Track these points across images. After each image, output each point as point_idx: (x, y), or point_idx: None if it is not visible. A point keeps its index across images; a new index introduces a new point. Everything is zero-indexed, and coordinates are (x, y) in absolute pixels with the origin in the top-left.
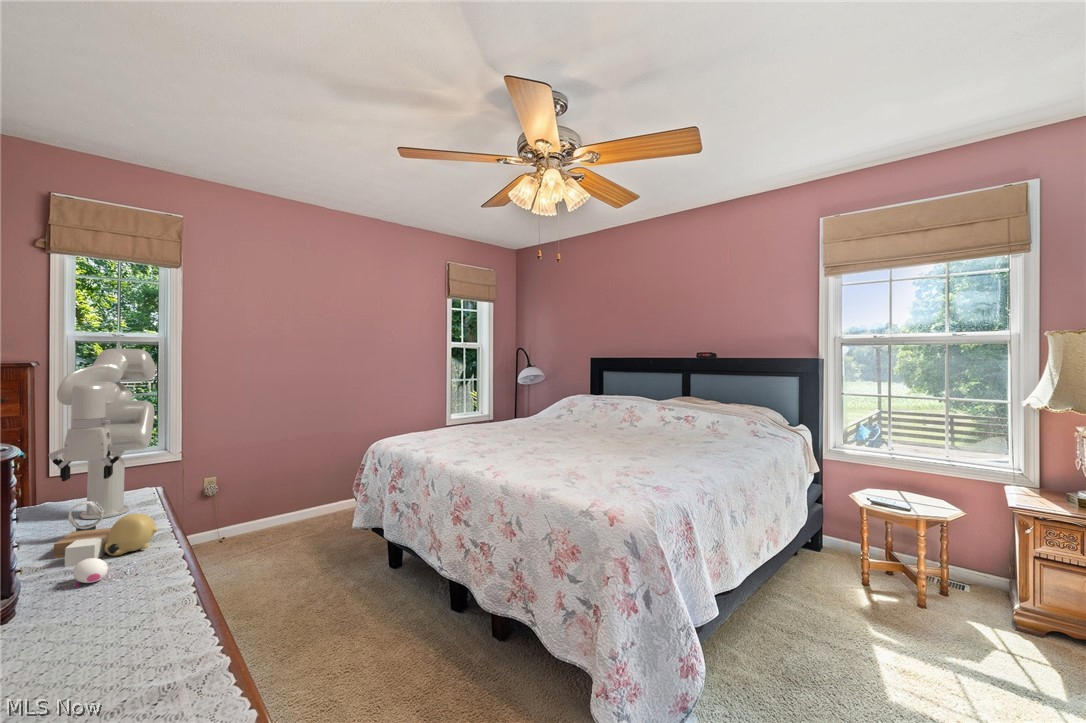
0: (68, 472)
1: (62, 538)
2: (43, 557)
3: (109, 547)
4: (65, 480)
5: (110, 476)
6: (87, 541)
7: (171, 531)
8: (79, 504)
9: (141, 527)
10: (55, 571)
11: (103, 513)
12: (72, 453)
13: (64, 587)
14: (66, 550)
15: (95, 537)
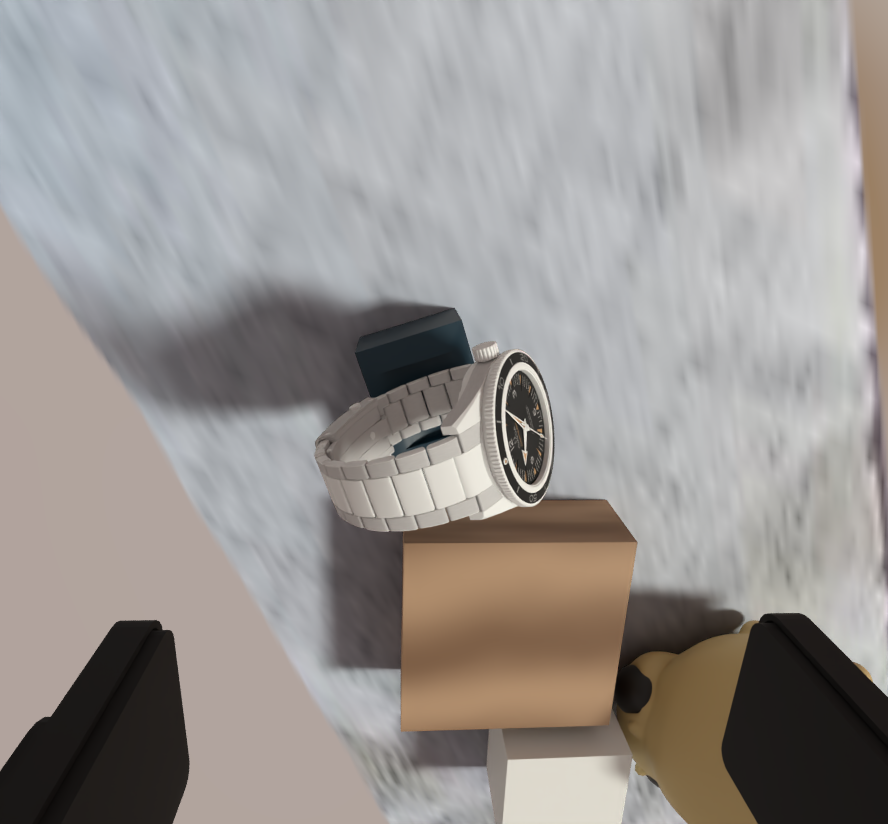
0: (118, 820)
1: (402, 655)
2: (345, 637)
3: (656, 785)
4: (186, 765)
5: (790, 619)
6: (569, 794)
7: (867, 442)
8: (395, 517)
9: None
10: (472, 804)
11: (552, 442)
12: None
13: None
14: None
15: (571, 689)
